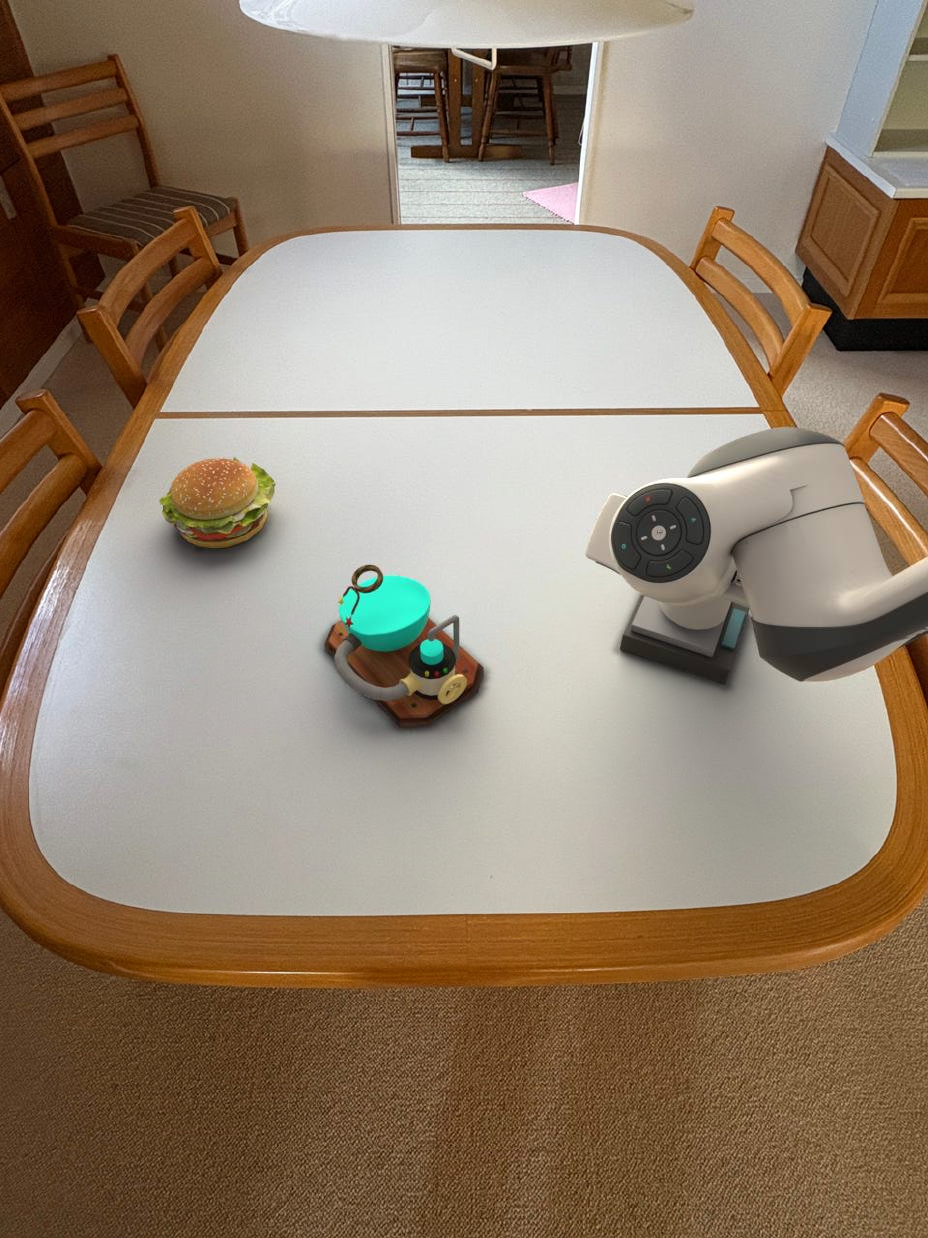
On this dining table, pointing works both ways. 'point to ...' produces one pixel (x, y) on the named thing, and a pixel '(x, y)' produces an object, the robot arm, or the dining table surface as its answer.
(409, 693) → the contraption on wooden base
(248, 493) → the food
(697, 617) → the can
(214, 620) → the dining table surface
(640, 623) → the scale
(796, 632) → the robot arm
